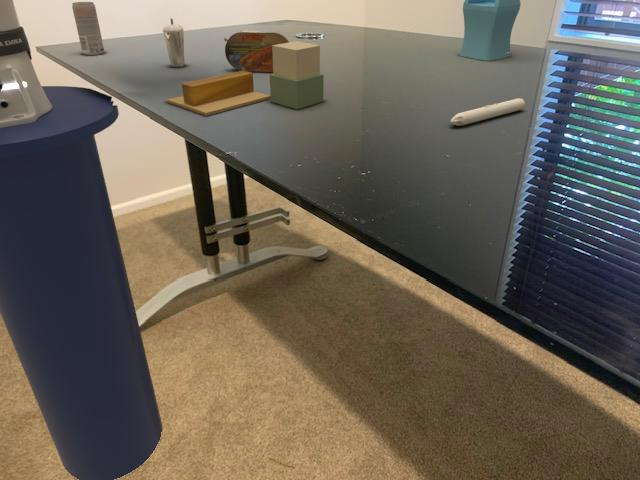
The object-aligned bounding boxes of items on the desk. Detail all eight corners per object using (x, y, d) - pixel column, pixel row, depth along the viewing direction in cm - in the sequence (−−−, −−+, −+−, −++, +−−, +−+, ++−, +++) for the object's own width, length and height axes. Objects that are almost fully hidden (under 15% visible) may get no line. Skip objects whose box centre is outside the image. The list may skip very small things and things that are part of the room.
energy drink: (100, 50, 135) (90, 1, 129) (107, 53, 131) (97, 3, 125) (80, 52, 132) (68, 2, 126) (86, 56, 128) (74, 4, 122)
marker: (454, 130, 81) (456, 115, 80) (444, 126, 82) (446, 112, 81) (523, 111, 90) (526, 98, 89) (513, 108, 91) (516, 95, 90)
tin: (226, 71, 115) (222, 31, 111) (230, 68, 118) (227, 29, 114) (290, 73, 113) (289, 33, 109) (293, 70, 116) (292, 31, 112)
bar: (253, 91, 98) (252, 73, 96) (194, 106, 89) (191, 86, 87) (243, 88, 100) (242, 70, 98) (184, 103, 91) (181, 83, 89)
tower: (297, 109, 90) (296, 50, 85) (270, 101, 94) (268, 45, 89) (323, 101, 94) (324, 45, 89) (297, 94, 98) (296, 40, 93)
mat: (206, 116, 86) (206, 112, 86) (167, 102, 93) (166, 99, 93) (271, 98, 96) (270, 95, 96) (231, 87, 103) (230, 84, 102)
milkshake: (187, 62, 122) (181, 18, 117) (188, 67, 118) (182, 21, 113) (167, 63, 121) (161, 18, 116) (168, 68, 117) (161, 22, 112)
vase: (456, 55, 132) (471, -56, 119) (478, 50, 138) (495, -56, 125) (488, 61, 126) (508, -55, 113) (510, 56, 131) (531, -55, 118)
